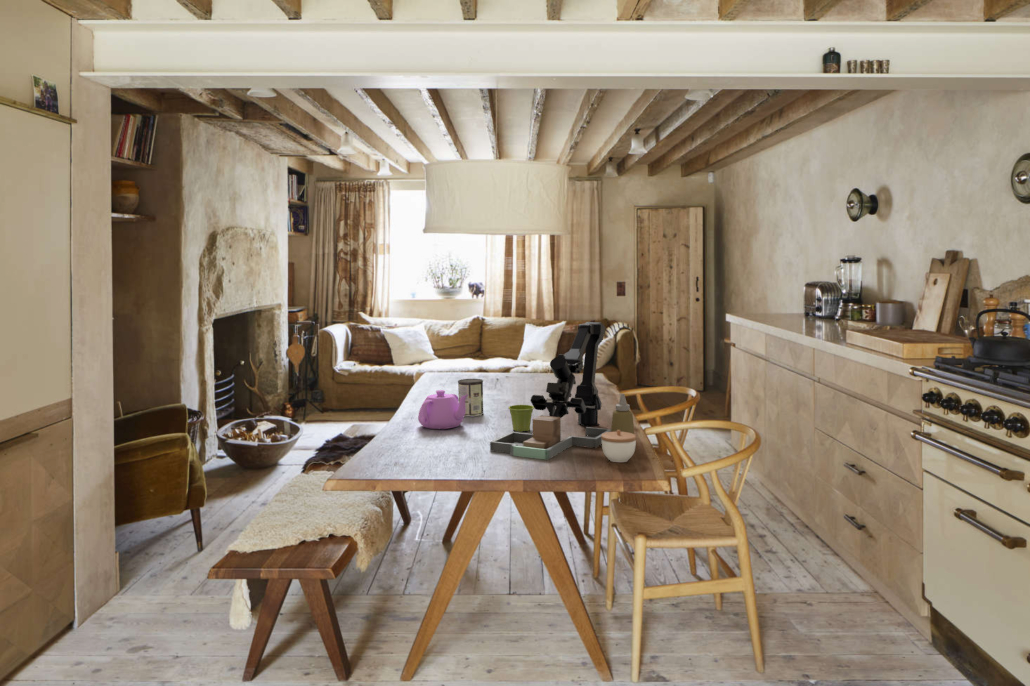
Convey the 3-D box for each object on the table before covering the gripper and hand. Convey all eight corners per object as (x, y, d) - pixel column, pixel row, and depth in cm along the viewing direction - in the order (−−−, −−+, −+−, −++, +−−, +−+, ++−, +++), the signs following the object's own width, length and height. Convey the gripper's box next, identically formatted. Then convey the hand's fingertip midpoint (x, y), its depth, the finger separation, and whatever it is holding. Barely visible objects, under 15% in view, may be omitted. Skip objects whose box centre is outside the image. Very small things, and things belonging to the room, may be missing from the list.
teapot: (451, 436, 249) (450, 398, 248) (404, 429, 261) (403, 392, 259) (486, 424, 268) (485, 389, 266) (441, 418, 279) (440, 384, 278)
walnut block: (541, 444, 236) (541, 415, 235) (560, 446, 233) (560, 417, 232) (523, 454, 224) (523, 423, 223) (543, 456, 221) (543, 425, 220)
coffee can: (468, 410, 295) (467, 377, 294) (488, 413, 289) (488, 379, 288) (453, 415, 286) (452, 381, 285) (473, 417, 281) (473, 383, 279)
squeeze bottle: (636, 445, 234) (637, 392, 232) (632, 451, 226) (633, 396, 224) (612, 444, 236) (612, 391, 234) (607, 449, 229) (608, 395, 227)
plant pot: (531, 433, 252) (531, 409, 252) (506, 432, 254) (506, 409, 253) (536, 428, 262) (536, 405, 261) (511, 427, 263) (511, 404, 263)
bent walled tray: (534, 429, 258) (534, 421, 258) (612, 437, 245) (612, 429, 245) (487, 452, 226) (487, 443, 226) (573, 463, 213) (573, 453, 213)
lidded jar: (597, 455, 221) (598, 426, 220) (631, 454, 222) (631, 425, 221) (605, 465, 211) (605, 434, 210) (639, 464, 211) (640, 433, 211)
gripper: (532, 371, 242) (518, 408, 233) (583, 374, 233) (570, 413, 224) (542, 390, 249) (528, 427, 241) (591, 394, 241) (579, 432, 232)
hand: (551, 424), depth 234 cm, fingers closed, pressing on walnut block
